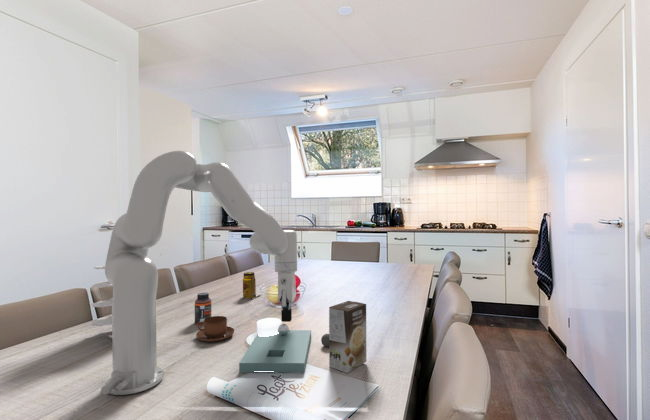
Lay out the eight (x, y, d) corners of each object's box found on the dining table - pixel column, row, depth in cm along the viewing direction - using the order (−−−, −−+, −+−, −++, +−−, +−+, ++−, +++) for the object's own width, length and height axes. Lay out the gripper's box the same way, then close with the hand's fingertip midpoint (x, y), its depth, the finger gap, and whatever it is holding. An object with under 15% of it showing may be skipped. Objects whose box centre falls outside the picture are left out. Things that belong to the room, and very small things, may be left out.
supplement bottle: (206, 326, 124) (205, 295, 124) (191, 326, 125) (191, 295, 125) (214, 321, 129) (214, 291, 129) (200, 320, 131) (200, 291, 131)
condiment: (239, 298, 163) (238, 273, 163) (248, 294, 171) (248, 270, 171) (252, 299, 161) (252, 274, 161) (261, 295, 169) (261, 271, 169)
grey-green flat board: (304, 372, 88) (304, 363, 88) (239, 372, 88) (239, 363, 88) (311, 337, 112) (311, 330, 112) (259, 337, 112) (259, 330, 112)
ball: (288, 336, 106) (288, 325, 106) (277, 336, 106) (277, 325, 106) (289, 332, 110) (289, 322, 110) (279, 332, 110) (279, 322, 110)
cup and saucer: (194, 346, 106) (193, 327, 106) (198, 333, 118) (198, 315, 118) (233, 342, 109) (233, 323, 109) (234, 330, 120) (234, 312, 120)
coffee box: (348, 374, 87) (347, 311, 87) (328, 367, 91) (327, 307, 91) (367, 361, 94) (366, 303, 94) (348, 355, 98) (347, 299, 98)
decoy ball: (333, 348, 103) (333, 336, 103) (320, 348, 103) (320, 336, 103) (333, 344, 106) (333, 331, 106) (321, 344, 107) (321, 331, 107)
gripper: (294, 270, 107) (295, 328, 107) (299, 263, 122) (300, 314, 122) (270, 270, 108) (271, 328, 108) (278, 263, 123) (279, 314, 123)
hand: (286, 320), depth 115 cm, fingers closed
